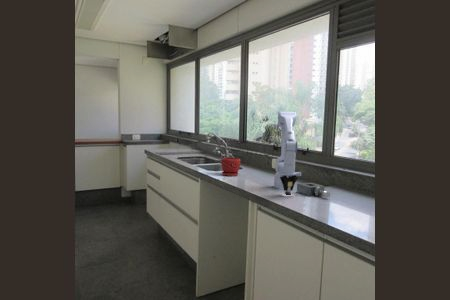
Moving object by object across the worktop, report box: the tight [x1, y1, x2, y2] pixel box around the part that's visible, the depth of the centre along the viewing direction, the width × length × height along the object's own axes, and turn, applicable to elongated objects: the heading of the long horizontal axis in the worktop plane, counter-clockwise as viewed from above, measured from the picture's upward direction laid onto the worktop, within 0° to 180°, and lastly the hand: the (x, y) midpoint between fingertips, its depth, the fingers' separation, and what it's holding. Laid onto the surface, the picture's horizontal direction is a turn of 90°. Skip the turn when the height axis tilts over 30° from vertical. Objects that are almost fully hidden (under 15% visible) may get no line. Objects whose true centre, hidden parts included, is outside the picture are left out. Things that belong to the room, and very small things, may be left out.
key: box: [284, 181, 292, 195], centre depth 165 cm, size 3×3×7 cm
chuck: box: [296, 182, 331, 198], centre depth 167 cm, size 18×10×5 cm, turn 26°
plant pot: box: [221, 157, 241, 177], centre depth 222 cm, size 13×13×12 cm
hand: (288, 190), depth 165 cm, fingers closed on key, 3 cm apart
